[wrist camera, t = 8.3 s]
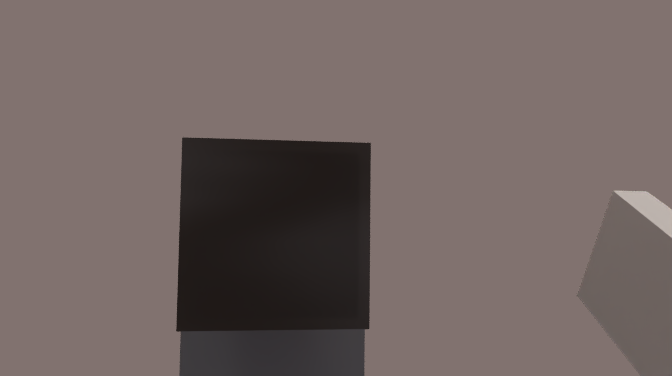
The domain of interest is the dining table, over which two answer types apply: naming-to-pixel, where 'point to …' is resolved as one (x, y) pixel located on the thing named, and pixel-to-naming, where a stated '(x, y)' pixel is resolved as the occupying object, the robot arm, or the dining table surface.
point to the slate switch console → (272, 353)
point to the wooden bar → (274, 235)
